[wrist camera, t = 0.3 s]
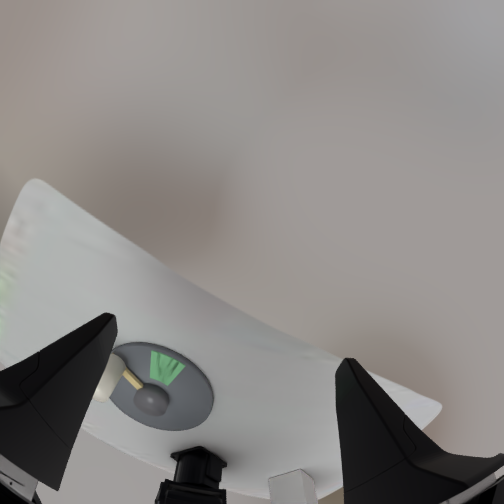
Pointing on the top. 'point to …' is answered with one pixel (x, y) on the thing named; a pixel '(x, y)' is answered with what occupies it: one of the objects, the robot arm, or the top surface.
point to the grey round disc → (164, 386)
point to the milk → (292, 489)
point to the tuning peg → (146, 396)
